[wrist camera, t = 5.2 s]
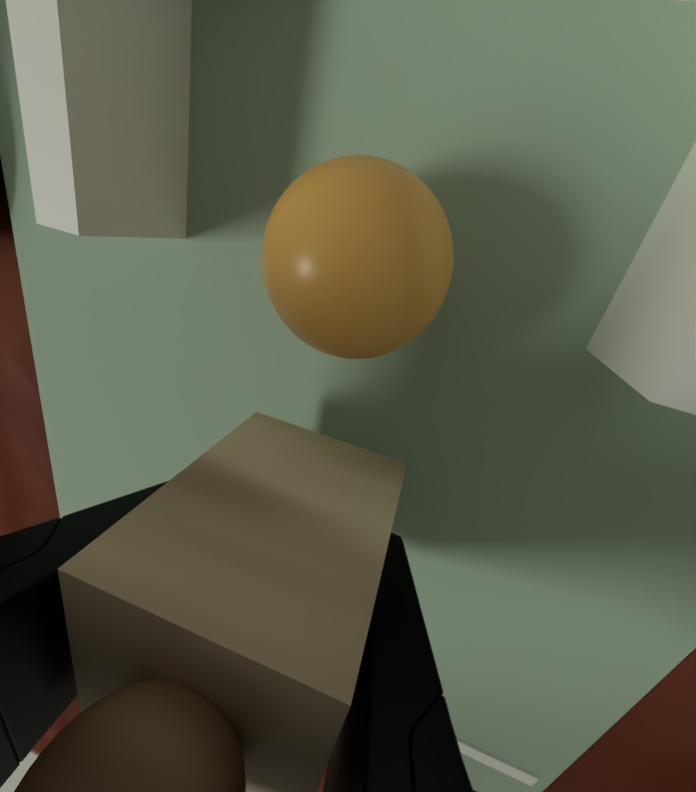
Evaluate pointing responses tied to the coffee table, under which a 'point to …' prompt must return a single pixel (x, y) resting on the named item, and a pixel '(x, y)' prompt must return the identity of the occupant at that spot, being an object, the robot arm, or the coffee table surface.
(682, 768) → the coffee table surface
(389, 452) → the pitch mat
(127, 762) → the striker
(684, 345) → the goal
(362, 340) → the ball
